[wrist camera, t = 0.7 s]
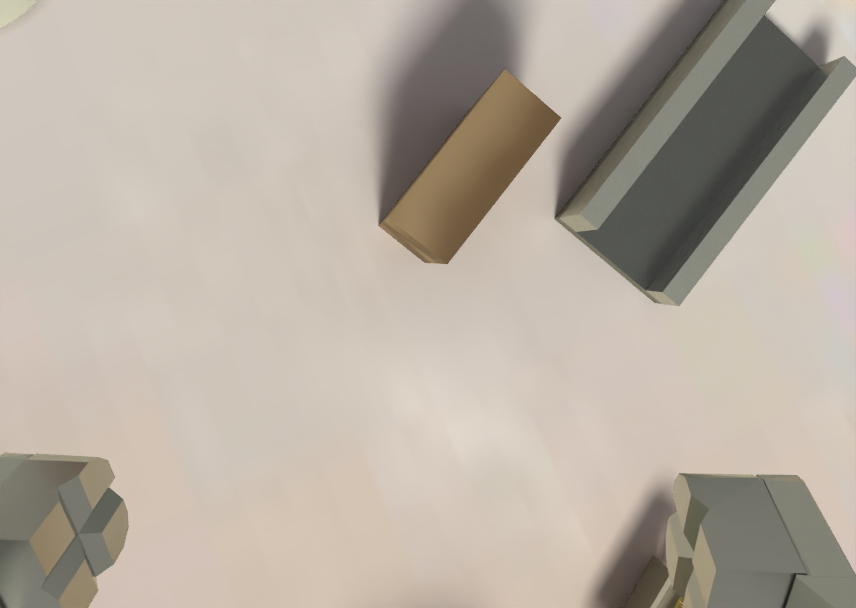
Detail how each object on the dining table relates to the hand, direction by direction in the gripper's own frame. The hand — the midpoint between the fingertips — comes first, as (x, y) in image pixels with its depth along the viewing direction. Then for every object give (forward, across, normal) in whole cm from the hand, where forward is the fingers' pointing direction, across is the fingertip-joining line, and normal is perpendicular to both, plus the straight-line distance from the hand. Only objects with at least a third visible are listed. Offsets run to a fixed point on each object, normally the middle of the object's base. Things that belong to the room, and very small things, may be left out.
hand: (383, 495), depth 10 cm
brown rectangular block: (+37, +2, +9) cm, 38 cm away
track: (+42, -15, +8) cm, 45 cm away
